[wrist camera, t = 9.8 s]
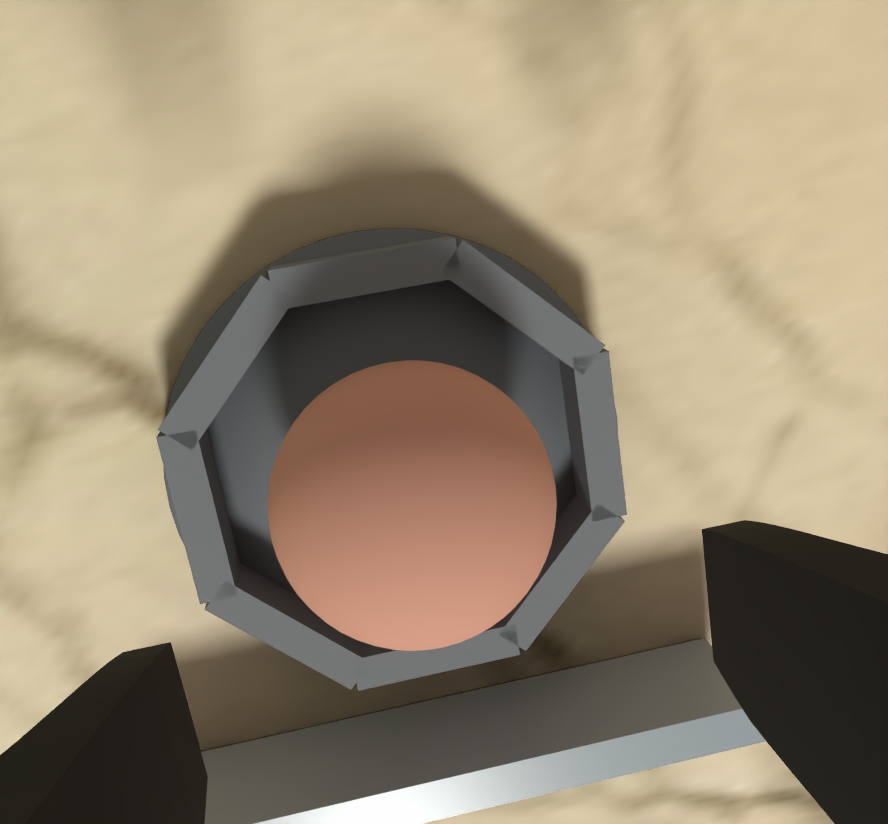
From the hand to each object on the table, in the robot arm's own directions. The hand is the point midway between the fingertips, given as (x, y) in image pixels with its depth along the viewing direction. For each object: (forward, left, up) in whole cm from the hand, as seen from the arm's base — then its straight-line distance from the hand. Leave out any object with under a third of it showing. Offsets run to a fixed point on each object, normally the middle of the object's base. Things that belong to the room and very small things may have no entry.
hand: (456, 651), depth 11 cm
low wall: (-7, 0, -9) cm, 11 cm away
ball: (0, 0, -8) cm, 8 cm away
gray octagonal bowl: (0, 0, -9) cm, 9 cm away
